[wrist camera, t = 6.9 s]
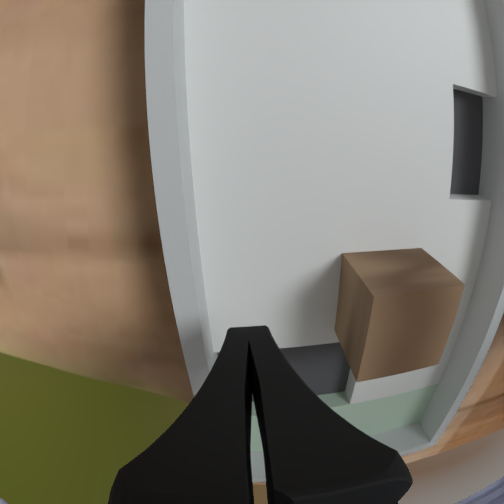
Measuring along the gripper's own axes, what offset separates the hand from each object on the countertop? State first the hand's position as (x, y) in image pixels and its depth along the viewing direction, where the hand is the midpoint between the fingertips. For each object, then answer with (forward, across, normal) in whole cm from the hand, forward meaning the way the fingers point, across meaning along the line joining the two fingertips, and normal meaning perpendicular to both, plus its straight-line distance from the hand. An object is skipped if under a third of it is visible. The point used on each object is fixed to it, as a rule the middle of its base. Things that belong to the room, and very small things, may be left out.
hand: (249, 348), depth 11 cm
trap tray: (+6, -6, 0) cm, 9 cm away
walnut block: (+4, -7, +1) cm, 8 cm away
